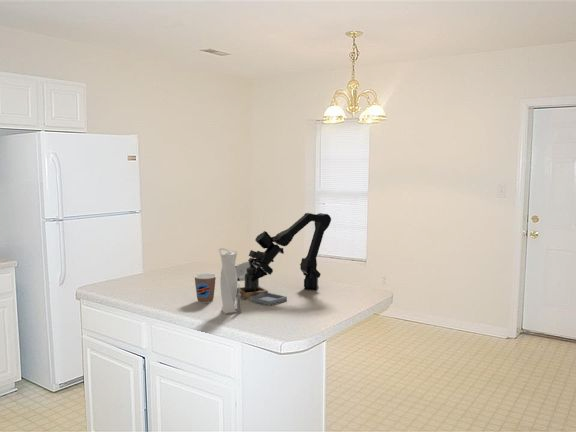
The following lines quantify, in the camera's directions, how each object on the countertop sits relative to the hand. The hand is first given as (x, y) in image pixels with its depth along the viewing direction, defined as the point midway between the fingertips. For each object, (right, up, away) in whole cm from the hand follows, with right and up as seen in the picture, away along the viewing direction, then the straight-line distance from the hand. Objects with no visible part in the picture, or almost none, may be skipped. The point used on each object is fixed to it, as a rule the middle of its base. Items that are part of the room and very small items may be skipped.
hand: (248, 279), depth 246 cm
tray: (+10, -9, -9) cm, 16 cm away
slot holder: (+1, -8, +1) cm, 8 cm away
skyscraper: (-6, -11, -27) cm, 29 cm away
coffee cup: (-19, -9, -10) cm, 24 cm away
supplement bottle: (+1, -7, +1) cm, 7 cm away
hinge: (-4, -5, +41) cm, 42 cm away
